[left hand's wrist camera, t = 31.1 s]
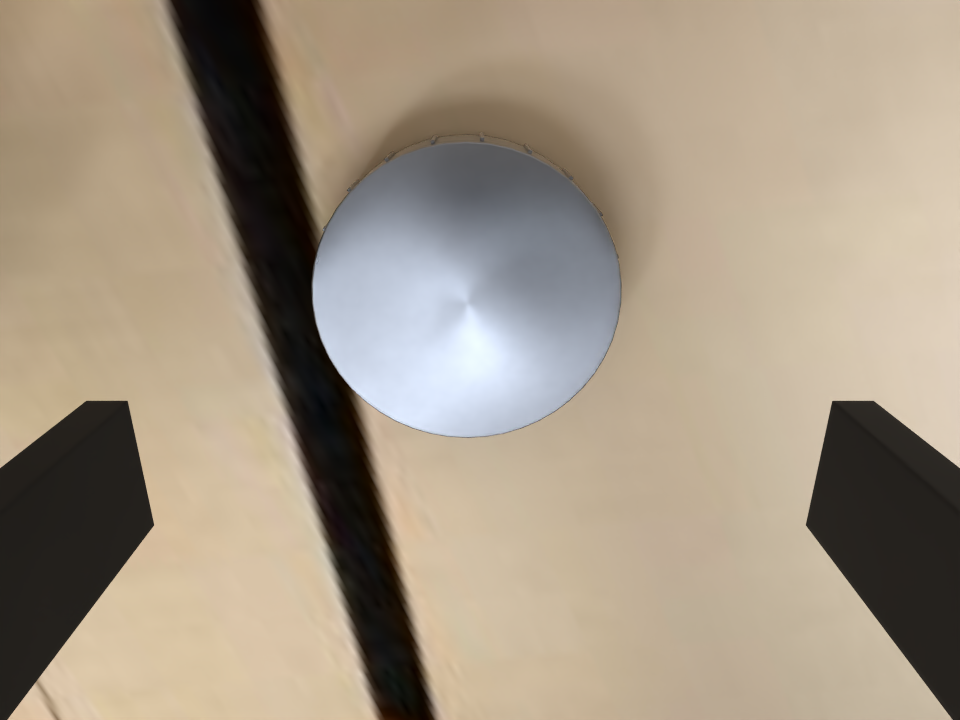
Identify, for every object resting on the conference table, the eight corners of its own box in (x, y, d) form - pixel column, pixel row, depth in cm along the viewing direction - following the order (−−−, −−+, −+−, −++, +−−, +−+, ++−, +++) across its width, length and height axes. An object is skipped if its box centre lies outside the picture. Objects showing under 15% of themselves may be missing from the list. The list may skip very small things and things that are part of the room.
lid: (354, 422, 23) (344, 455, 21) (293, 153, 19) (273, 162, 17) (615, 391, 23) (629, 422, 21) (600, 112, 19) (615, 116, 17)
